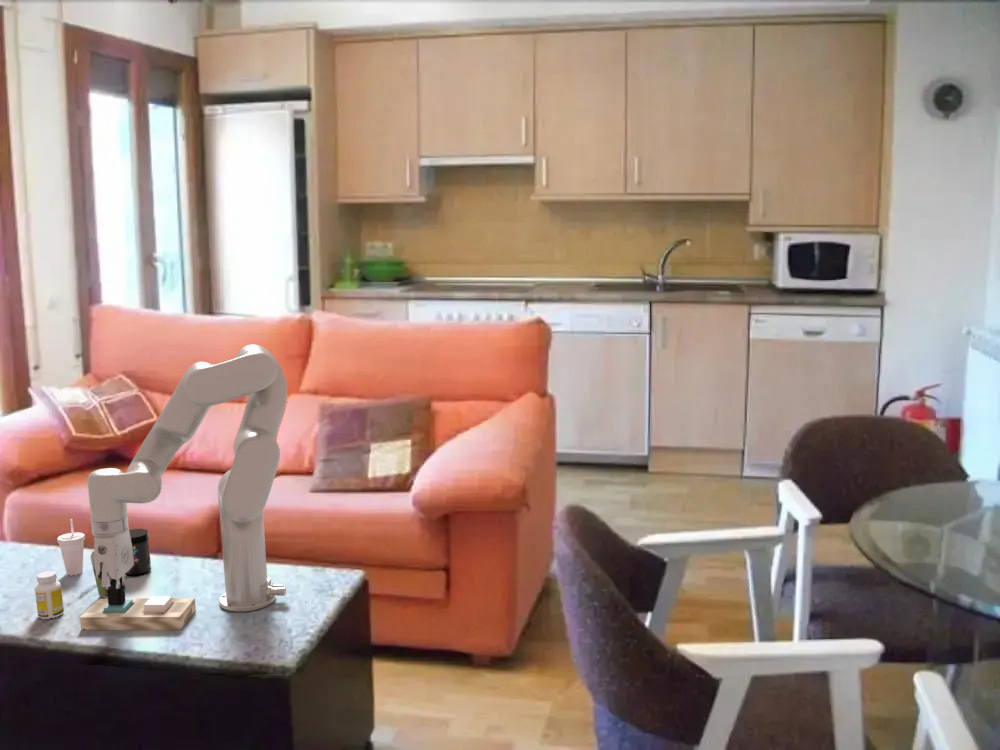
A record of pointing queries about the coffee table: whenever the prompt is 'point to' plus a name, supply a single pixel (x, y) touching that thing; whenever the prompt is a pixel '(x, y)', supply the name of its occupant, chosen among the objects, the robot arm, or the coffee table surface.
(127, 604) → the teal key
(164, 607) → the white key
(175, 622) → the key block
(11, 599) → the coffee table surface
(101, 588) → the beverage can
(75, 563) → the smoothie
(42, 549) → the coffee table surface
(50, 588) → the supplement bottle
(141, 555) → the supplement container
